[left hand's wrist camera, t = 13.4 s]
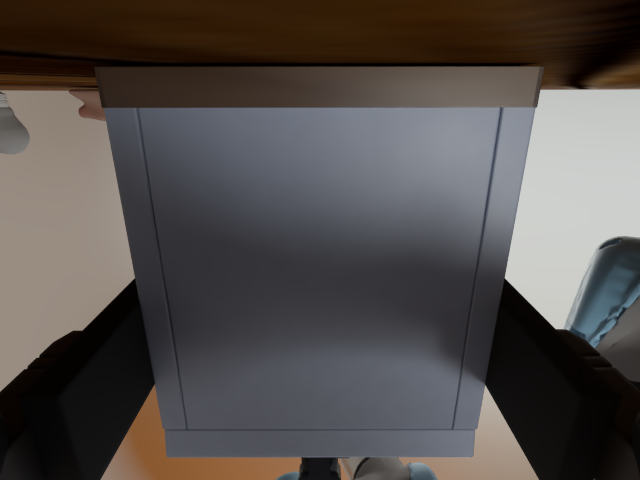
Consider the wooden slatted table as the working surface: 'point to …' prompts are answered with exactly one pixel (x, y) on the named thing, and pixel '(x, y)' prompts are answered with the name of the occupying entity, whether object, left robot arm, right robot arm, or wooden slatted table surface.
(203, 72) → the chest
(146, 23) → the wooden slatted table surface
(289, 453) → the lid
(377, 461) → the right robot arm
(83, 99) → the anatomical model
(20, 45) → the wooden slatted table surface
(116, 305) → the left robot arm
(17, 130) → the light bulb
